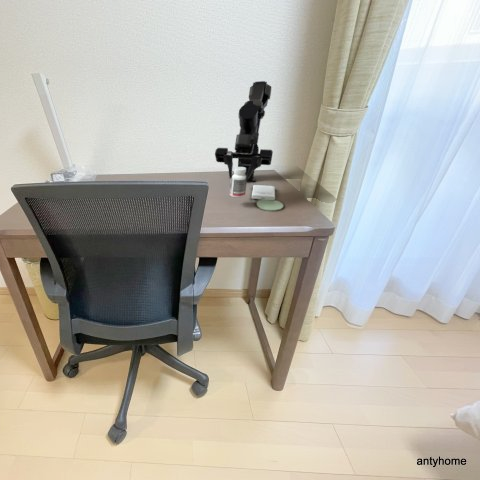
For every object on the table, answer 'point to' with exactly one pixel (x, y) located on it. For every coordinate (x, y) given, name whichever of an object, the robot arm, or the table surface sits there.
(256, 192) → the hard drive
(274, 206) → the coaster
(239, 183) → the pill bottle
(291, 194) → the table surface
